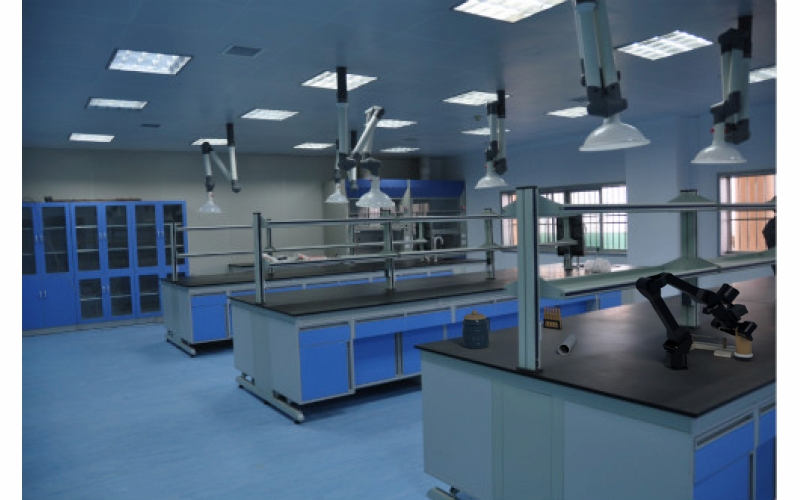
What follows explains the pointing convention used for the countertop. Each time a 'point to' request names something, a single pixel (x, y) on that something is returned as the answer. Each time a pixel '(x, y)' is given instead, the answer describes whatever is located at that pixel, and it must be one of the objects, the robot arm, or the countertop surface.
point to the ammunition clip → (552, 319)
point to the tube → (567, 344)
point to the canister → (475, 331)
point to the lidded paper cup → (742, 346)
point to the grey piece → (714, 346)
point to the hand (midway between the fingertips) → (746, 338)
